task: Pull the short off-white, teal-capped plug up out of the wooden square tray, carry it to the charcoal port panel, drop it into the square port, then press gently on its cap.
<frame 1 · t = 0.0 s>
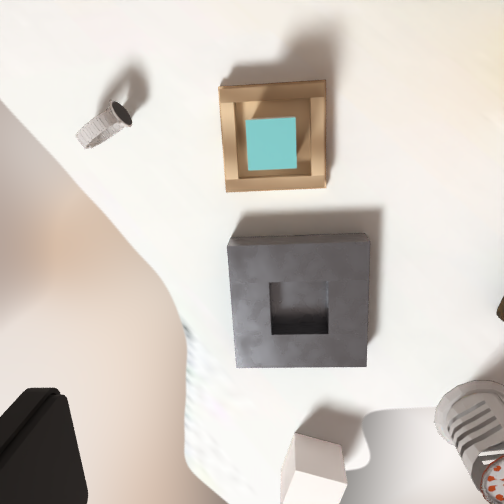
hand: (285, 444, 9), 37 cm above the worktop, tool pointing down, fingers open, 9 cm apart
white cube: (310, 455, 55), on the worktop
wristwatch: (113, 125, 44), on the worktop
french press: (481, 409, 51), on the worktop
wooden square tray: (273, 138, 43), on the worktop
plug: (273, 138, 42), point 1 cm above the worktop, touching wooden square tray
port panel: (298, 296, 48), on the worktop
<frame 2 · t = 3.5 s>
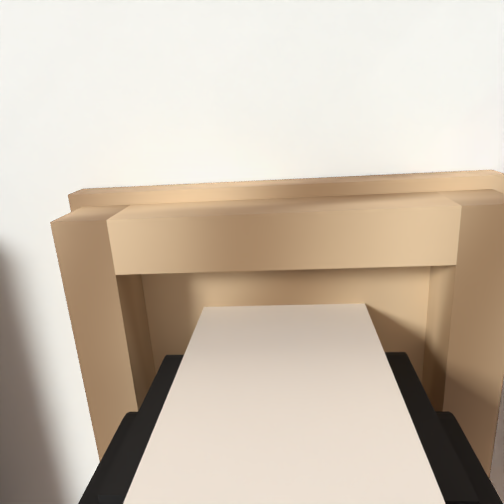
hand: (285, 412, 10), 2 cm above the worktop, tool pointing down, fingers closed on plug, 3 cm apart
wooden square tray: (285, 357, 12), on the worktop
plug: (285, 374, 11), point 1 cm above the worktop, touching gripper, wooden square tray
when the fingers open (4 cm above the worktop, at t = 11.4 s): plug drops 2 cm, resting on port panel.
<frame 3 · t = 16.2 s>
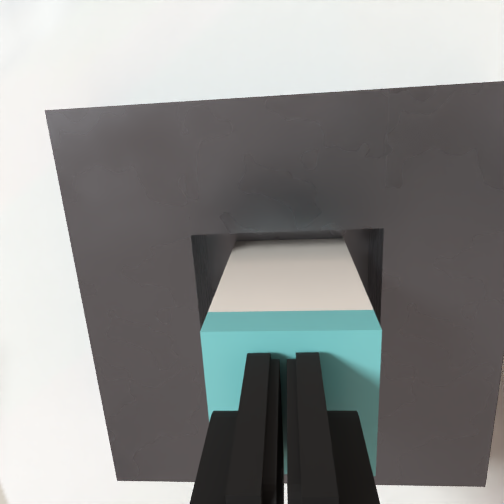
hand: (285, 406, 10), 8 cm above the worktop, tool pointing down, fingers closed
plug: (290, 289, 17), point 1 cm above the worktop, touching gripper, port panel
port panel: (288, 283, 17), on the worktop
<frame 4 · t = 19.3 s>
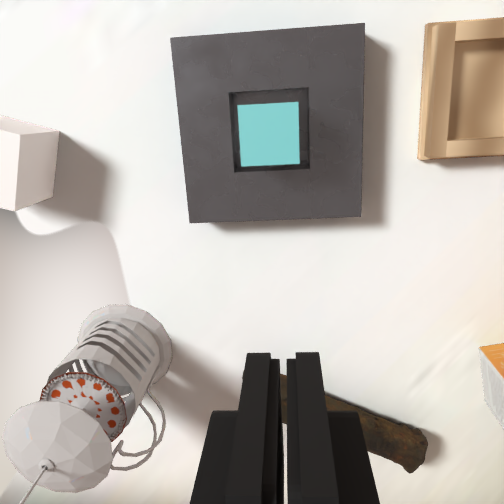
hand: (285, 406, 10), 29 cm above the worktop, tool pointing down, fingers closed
white cube: (25, 155, 39), on the worktop
french press: (133, 351, 44), on the worktop
wooden square tray: (486, 90, 34), on the worktop
hand tool: (327, 405, 45), on the worktop
plug: (272, 129, 36), resting on port panel
port panel: (271, 129, 36), on the worktop
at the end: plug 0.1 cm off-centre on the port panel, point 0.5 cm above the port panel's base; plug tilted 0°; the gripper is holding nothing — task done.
